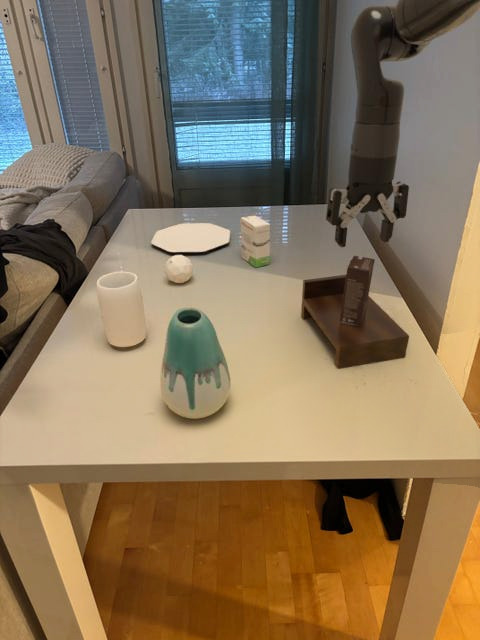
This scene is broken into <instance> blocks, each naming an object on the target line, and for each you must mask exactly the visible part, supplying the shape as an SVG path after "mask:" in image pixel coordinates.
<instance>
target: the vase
mask: <svg viewBox="0 0 480 640" xmlns="http://www.w3.org/2000/svg"><path fill="white" fill-rule="evenodd" d="M165 335H166V337H165V345H164V350H163V354H162V355H163V356H162V360H161V365H160V372H159V388H160V394H161V396H162V399H163V401H164V403H165V404H166V406H167V407H168V408H169V409H170V410H171V411H172V412H173V413H175V414H176V415H178V416H180V417H183V418H185V419H192V420H194V419H195V420H199V419H204V418H208V417H210V416H212V415H214V414H215V413H216V412H218V411H219V410H220V409H222V407H223V406H224V404H225V403H226V402H227V400H228V398H229V395H230V391H231V375H230V374H231V373H230V370H229V365H228V362H227V359H226V356H225V354H224V351H223V348H222V346H221V344H220V340H219V337H218V335H217V331H216V329H215V326H214V324H213V323H212V321H211V319H210V318H209V317H208V315H206V313H204V311H202V310H200V309H199V308H196V307H182V308H179V309H178V310H176V311H175V312H174V314H173V315H172V317H171V319H170V320H169V323H168V326H167V331H166V334H165Z"/></svg>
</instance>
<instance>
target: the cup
mask: <svg viewBox="0 0 480 640" xmlns="http://www.w3.org/2000/svg"><path fill="white" fill-rule="evenodd" d="M96 292H97V300H98V306H99V311H100V316H101V321H102V324H103V328H104V331H105V332H104V333H105V335H106V338H107V342H108V344H110V345H112V346H114V347H118V348H126V347H132V346H136V345H138V344H140V343H142V342H143V341H144V340H145V339H146V337H147V324H146V314H145V307H144V299H143V293H142V289H141V285H140V281H139V277H138V276H137V274H135V273H133V272H130V271H113V272H110V273H106V274H103V275H102V276H100V277H98V279H97V280H96Z"/></svg>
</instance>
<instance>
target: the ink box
mask: <svg viewBox="0 0 480 640" xmlns="http://www.w3.org/2000/svg"><path fill="white" fill-rule="evenodd" d="M240 242H241V243H240V245H241V247H240V251H241V253H240V255H241V258H242V259H243V260H245V262H247V263H248V264H250V265H251V266H253V267H254V268H259V267H260V268H261V267H265V266H267V265H271V223H269V222H267V221H266V220H264V219H263V218H261V217H259V216H258V215H249V216H248V215H247V216H242V217H240Z"/></svg>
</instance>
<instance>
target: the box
mask: <svg viewBox="0 0 480 640" xmlns="http://www.w3.org/2000/svg"><path fill="white" fill-rule="evenodd" d="M375 261H376V259H375V258H372V257H371V258H370V257H367V256H366V257H364V256H359V255H353V256H352V258H351V260H349V263H348V265H347V267H346V274H345V275H346V281H345V288H344V295H343V302H342V309H341V316H340V322H342V323H346V324H351V325H358V326H361V323H362V320H363V317H364V315H365V313H366V308H367V302H368V296H369V297H370V290H371V289H370V288H371V283H372V279H373V278H372V277H373V272H374V266H375Z"/></svg>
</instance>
